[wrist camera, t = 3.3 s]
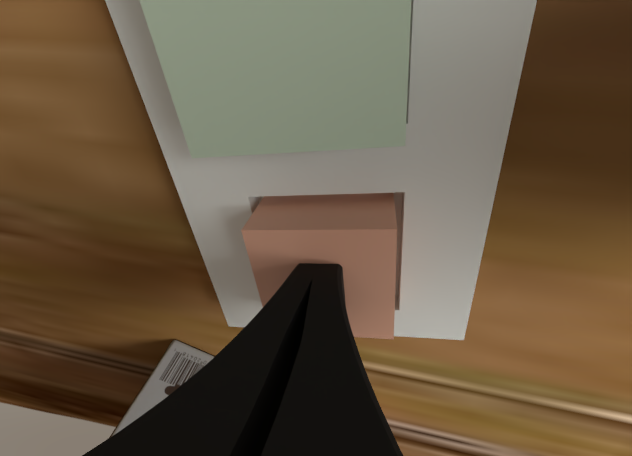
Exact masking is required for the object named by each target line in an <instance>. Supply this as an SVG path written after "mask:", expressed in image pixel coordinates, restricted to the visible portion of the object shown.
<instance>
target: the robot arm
mask: <svg viewBox="0 0 632 456" xmlns="http://www.w3.org/2000/svg"><path fill="white" fill-rule="evenodd" d="M83 456H403V454H402V452H401V450H400V448H399V446H398V444H397V442H396V440H395V438H394V436H393V433H392V431H391V429H390V427H389V425H388V423H387V420H386V418H385V416H384V414H383V412H382V410H381V407H380V405H379V403H378V401H377V398H376V396H375V393H374V391H373V389H372V386H371V384H370V381H369V379H368V376H367V374H366V371H365V368H364V366H363V363H362V360H361V358H360V355H359V352H358V349H357V346H356V343H355V340H354V336H353V333H352V330H351V326H350V323H349V319H348V315H347V311H346V303H345V291H344V279H343V267H342V266H341V265H340V264H313V263H299V264H298V265H297V266H296V267H295V268H294V270H293V271H292V272H291V274H290V275H289V276H288V278H287V279H286V280H285V281H284V283H283V284H282V285H281V286H280V288H279V289H278V290H277V291H276V293H275V294H274V295H273V296H272V297H271V298H270V300H269V301H268V302H267V303H266V304H265V306H264V307H263V308H262V309H261V310H260V311H259V312H258V314H257V315H256V316H255V317H254V318H253V319H252V320H251V321H250V322H249V323H248V324H247V325H246V326H245V327H244V329H243V330H242V331H241V332H240V333H239V334H238V335H237V336H236V337H235V338H234V339H233V340H232V341H231V342H230V343H229V344H228V345H227V346H226V347H225V348H224V349H223V350H222V351H220V352H219V353H218V354H217V355H216V356H215V357H214V358H213V359H212V360H211V361H210V362H208V363H207V364H206V365H205V366H204V367H203V368H202V369H200V370H199V371H198V372H197V373H196V374H194V375H193V376H192V377H191V378H190V379H188V380H187V381H186V382H185V383H184V384H182V385H181V386H180V387H179V388H177V389H176V390H175V391H174V392H172V393H171V394H170V395H169V396H167V397H166V398H165V399H164V400H162V401H161V402H159V403H158V404H157V405H155V406H154V407H153V408H151V409H150V410H148V411H147V412H146V413H144V414H143V415H142V416H140V417H139V418H137V419H136V420H135V421H133V422H132V423H131V424H129V425H128V426H126V427H125V428H123V429H122V430H121V431H119V432H118V433H116V434H115V435H113V436H112V437H110V438H109V439H107V440H106V441H104V442H103V443H101V444H100V445H98V446H97V447H95V448H94V449H92V450H91V451H89V452H87V453H86V454H84V455H83Z"/></svg>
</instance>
